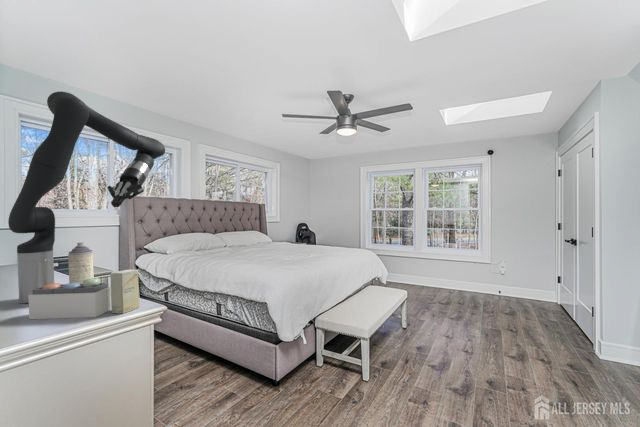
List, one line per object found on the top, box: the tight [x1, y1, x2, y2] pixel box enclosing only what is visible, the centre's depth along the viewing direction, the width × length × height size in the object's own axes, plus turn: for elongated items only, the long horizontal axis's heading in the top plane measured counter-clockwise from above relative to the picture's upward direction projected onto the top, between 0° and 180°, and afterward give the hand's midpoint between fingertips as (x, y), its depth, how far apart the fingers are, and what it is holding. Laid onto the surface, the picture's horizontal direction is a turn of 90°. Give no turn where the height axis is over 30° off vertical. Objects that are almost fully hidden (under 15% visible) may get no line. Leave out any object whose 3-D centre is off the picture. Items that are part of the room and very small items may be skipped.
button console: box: [28, 282, 112, 320], centre depth 88 cm, size 19×7×8 cm, turn 91°
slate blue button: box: [63, 282, 80, 288], centre depth 88 cm, size 4×4×2 cm
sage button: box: [83, 277, 101, 288], centre depth 88 cm, size 4×4×2 cm
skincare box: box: [109, 268, 140, 314], centre depth 90 cm, size 6×4×12 cm
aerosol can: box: [67, 242, 95, 284], centre depth 105 cm, size 7×7×20 cm
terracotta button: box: [42, 282, 61, 289], centre depth 88 cm, size 4×4×2 cm
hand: (114, 205), depth 102 cm, fingers closed
